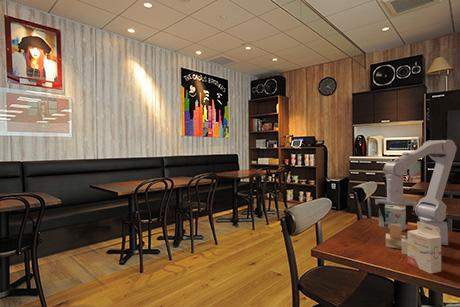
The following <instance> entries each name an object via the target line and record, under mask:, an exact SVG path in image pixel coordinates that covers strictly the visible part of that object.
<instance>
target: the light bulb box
mask: <svg viewBox="0 0 460 307" xmlns="http://www.w3.org/2000/svg"><path fill="white" fill-rule="evenodd" d="M385 216H386V222H384V220H383V216H382V213H381V211H380V209H379V208H378V226H380V227H381V228H385V229H388V230H390V223H392V224H401V232H402V231H405V230H407V229H408V227H407V225H408V224H405V218H406V206H396V205H385Z"/></svg>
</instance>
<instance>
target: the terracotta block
mask: <svg viewBox="0 0 460 307" xmlns="http://www.w3.org/2000/svg"><path fill="white" fill-rule="evenodd" d="M389 234H390V238H396V239H401V235H402V231H401V224H392V223H390V229H389Z"/></svg>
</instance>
